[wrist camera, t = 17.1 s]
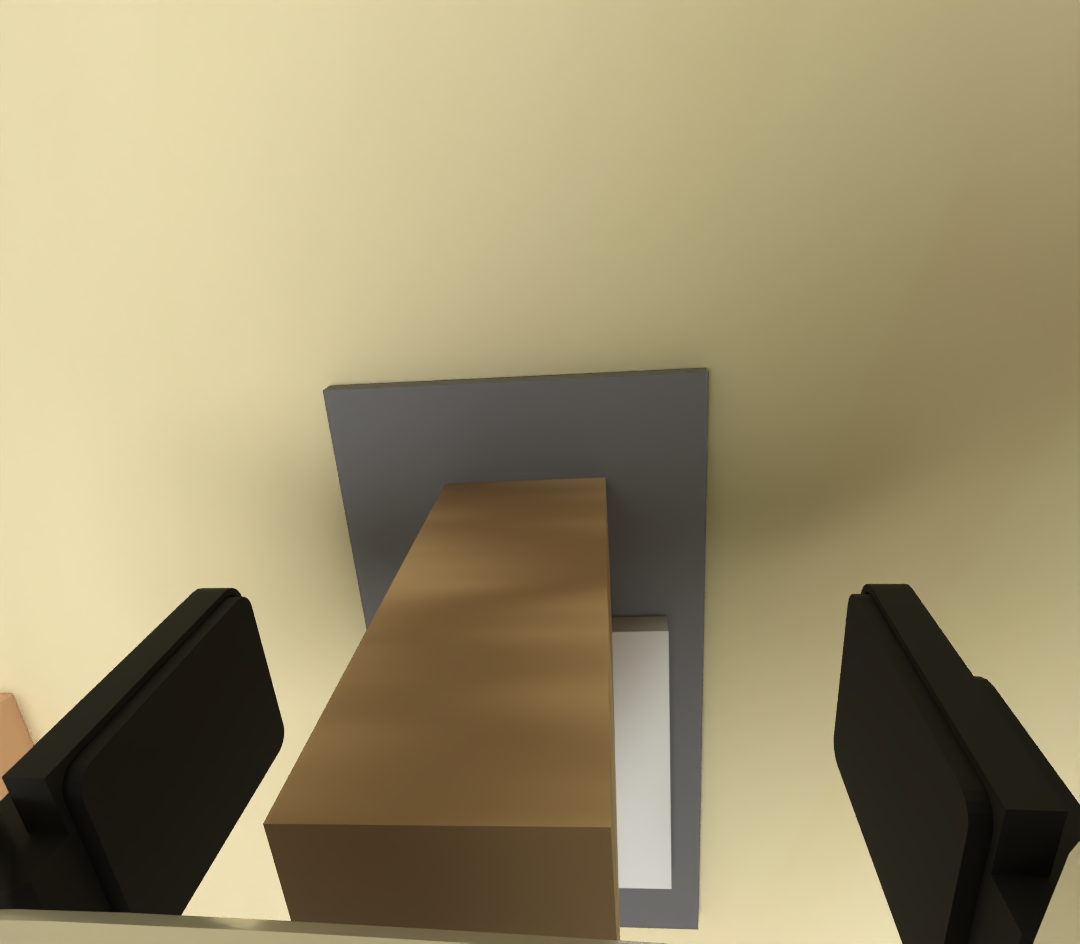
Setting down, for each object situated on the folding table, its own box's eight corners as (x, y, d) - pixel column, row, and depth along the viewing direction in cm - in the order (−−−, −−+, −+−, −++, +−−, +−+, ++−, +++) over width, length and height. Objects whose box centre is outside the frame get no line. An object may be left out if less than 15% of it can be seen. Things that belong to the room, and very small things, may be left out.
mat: (705, 367, 14) (708, 372, 14) (696, 915, 20) (698, 929, 20) (329, 386, 15) (322, 390, 15) (424, 908, 21) (420, 921, 21)
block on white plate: (664, 474, 15) (743, 828, 7) (669, 868, 19) (722, 1390, 11) (389, 486, 16) (147, 822, 7) (452, 865, 20) (343, 1356, 11)
